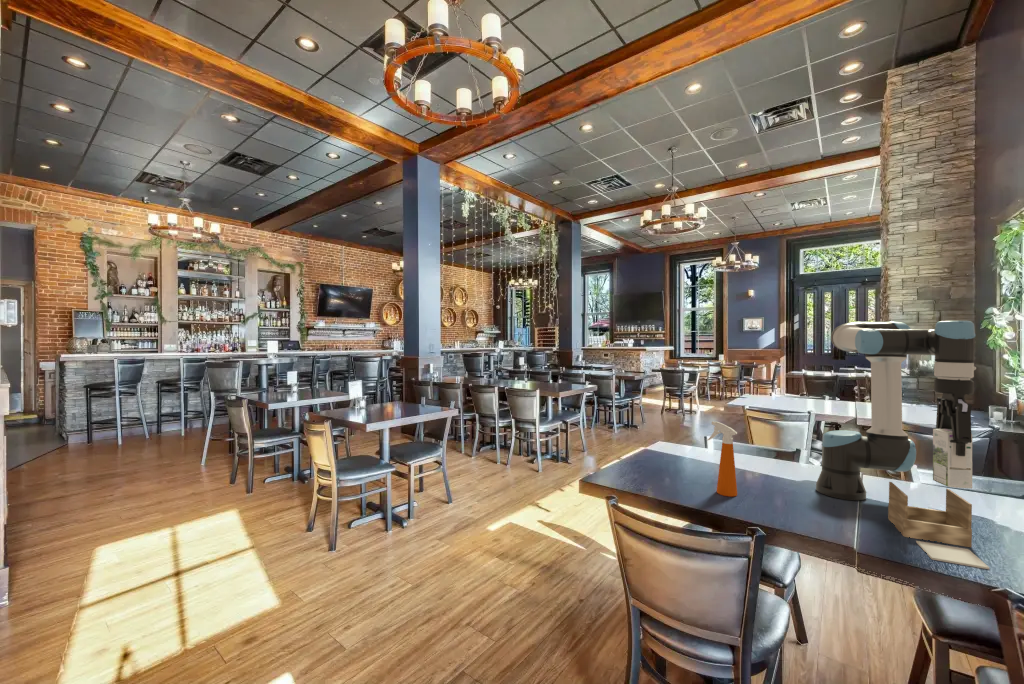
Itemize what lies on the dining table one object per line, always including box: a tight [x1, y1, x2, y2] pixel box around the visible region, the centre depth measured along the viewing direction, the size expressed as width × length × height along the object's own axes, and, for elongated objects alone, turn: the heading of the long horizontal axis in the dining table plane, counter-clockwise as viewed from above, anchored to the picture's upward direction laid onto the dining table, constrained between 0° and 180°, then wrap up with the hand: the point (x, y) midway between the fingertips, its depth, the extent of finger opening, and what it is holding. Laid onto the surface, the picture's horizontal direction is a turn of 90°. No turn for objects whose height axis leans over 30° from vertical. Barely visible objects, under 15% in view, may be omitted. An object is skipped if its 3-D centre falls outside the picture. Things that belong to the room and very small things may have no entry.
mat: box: [915, 540, 990, 570], centre depth 119 cm, size 11×11×1 cm
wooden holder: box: [887, 481, 973, 548], centre depth 133 cm, size 15×15×12 cm
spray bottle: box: [706, 420, 738, 498], centre depth 166 cm, size 7×11×26 cm, turn 51°
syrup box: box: [932, 428, 973, 489], centre depth 119 cm, size 6×6×14 cm
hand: (952, 464), depth 119 cm, fingers closed on syrup box, 7 cm apart
